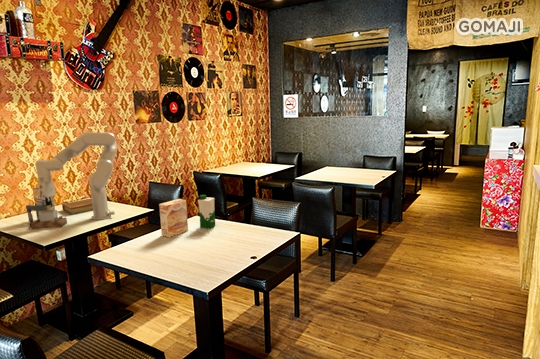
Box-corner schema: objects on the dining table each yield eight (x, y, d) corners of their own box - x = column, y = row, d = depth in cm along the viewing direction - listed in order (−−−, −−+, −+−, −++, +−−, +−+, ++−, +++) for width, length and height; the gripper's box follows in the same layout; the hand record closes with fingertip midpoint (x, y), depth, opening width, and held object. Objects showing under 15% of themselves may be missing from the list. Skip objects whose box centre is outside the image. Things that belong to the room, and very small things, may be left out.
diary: (94, 204, 301) (93, 197, 300) (103, 209, 288) (103, 201, 287) (62, 210, 285) (61, 203, 284) (71, 215, 272) (70, 207, 271)
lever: (52, 209, 246) (51, 204, 245) (49, 210, 243) (48, 205, 242) (28, 209, 246) (27, 204, 246) (25, 211, 243) (24, 206, 242)
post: (36, 226, 249) (33, 209, 247) (33, 227, 245) (31, 211, 243) (30, 226, 249) (28, 210, 246) (27, 228, 245) (25, 211, 243)
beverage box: (46, 222, 257) (42, 190, 253) (37, 220, 262) (32, 188, 258) (56, 219, 263) (51, 188, 259) (46, 217, 268) (42, 186, 264)
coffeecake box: (168, 237, 221) (166, 205, 217) (161, 235, 225) (158, 203, 221) (188, 230, 233) (186, 199, 229) (181, 228, 237) (178, 198, 233)
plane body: (67, 223, 253) (66, 215, 252) (61, 227, 245) (60, 219, 243) (38, 224, 252) (37, 217, 250) (31, 229, 243) (30, 221, 242)
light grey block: (58, 218, 250) (56, 208, 249) (54, 221, 245) (53, 211, 244) (43, 219, 249) (42, 209, 248) (39, 221, 244) (38, 211, 243)
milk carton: (204, 223, 245) (203, 193, 241) (217, 224, 242) (215, 194, 238) (198, 228, 237) (196, 196, 233) (211, 229, 234) (209, 197, 230)
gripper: (42, 181, 235) (47, 210, 239) (58, 176, 250) (62, 203, 254) (31, 181, 236) (35, 210, 240) (47, 177, 251) (51, 203, 254)
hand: (49, 206), depth 247 cm, fingers closed
